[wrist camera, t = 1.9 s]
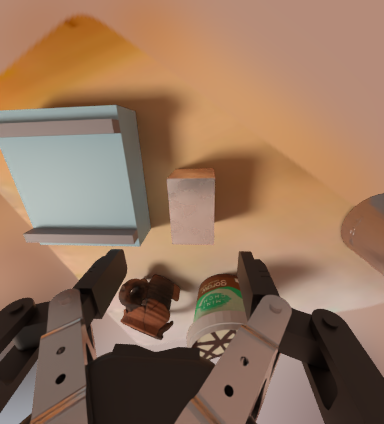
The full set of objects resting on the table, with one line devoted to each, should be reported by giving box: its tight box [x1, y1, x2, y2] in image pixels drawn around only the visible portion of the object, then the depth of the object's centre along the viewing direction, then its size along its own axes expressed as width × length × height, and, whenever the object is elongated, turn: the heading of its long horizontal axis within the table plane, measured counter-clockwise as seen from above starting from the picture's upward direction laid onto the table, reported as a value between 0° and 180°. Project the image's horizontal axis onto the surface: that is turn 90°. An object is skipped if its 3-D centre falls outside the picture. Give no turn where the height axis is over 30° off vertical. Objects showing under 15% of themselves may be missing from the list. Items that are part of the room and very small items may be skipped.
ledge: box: [0, 105, 151, 246], centre depth 23 cm, size 14×16×6 cm
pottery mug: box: [119, 275, 180, 340], centre depth 31 cm, size 12×10×8 cm
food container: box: [186, 274, 247, 360], centre depth 27 cm, size 12×6×10 cm, turn 132°
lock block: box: [167, 168, 215, 245], centre depth 23 cm, size 5×8×6 cm, turn 2°
